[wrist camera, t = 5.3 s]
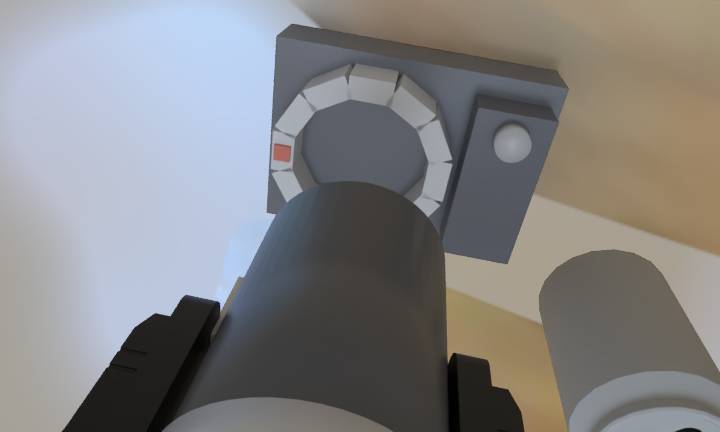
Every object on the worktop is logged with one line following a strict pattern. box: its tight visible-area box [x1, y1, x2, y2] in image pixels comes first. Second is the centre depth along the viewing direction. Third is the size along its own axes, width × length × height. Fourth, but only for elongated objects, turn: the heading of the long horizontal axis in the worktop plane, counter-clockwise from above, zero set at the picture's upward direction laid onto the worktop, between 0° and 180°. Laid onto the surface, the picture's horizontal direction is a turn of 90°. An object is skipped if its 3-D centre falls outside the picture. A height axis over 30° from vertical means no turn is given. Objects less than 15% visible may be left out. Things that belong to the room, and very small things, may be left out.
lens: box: [162, 181, 449, 432], centre depth 10 cm, size 5×5×10 cm
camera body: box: [267, 24, 569, 264], centre depth 28 cm, size 14×10×6 cm
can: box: [539, 250, 720, 432], centre depth 29 cm, size 8×8×12 cm
